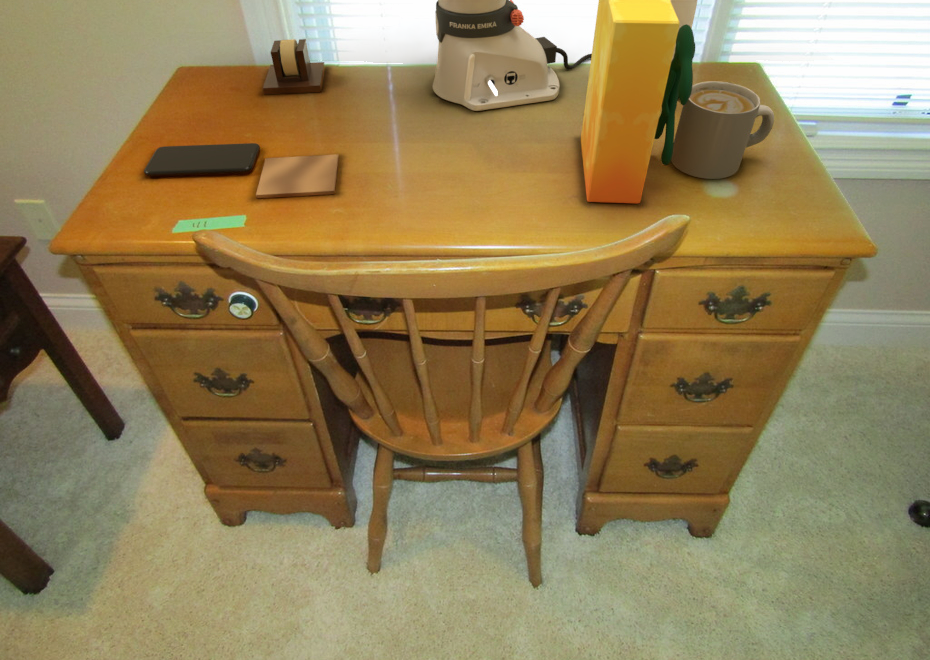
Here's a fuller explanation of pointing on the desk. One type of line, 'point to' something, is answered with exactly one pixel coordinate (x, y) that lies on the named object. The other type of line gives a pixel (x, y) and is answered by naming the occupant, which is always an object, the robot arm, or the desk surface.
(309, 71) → the stand
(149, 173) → the smartphone
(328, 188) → the cork pad
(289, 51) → the tape roll
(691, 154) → the coffee mug
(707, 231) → the desk surface
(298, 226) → the desk surface
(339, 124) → the desk surface
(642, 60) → the mottled yellow carton
